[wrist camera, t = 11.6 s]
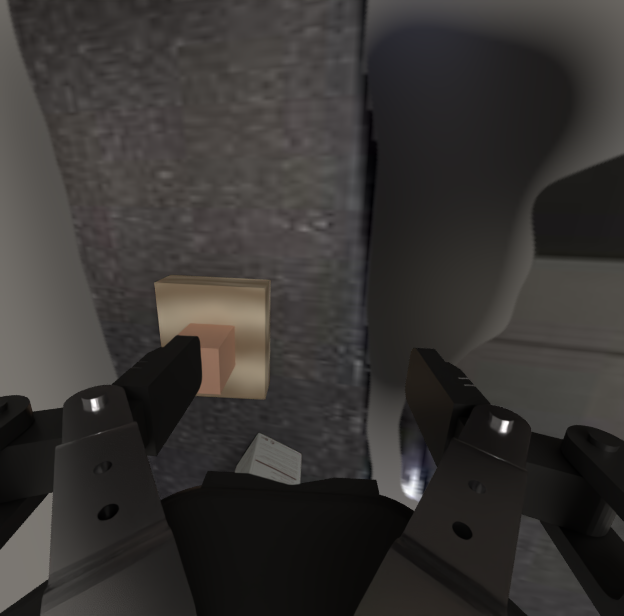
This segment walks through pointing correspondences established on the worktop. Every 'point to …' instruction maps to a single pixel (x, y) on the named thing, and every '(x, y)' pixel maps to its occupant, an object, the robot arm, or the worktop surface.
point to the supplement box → (271, 461)
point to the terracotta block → (214, 354)
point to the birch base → (223, 323)
